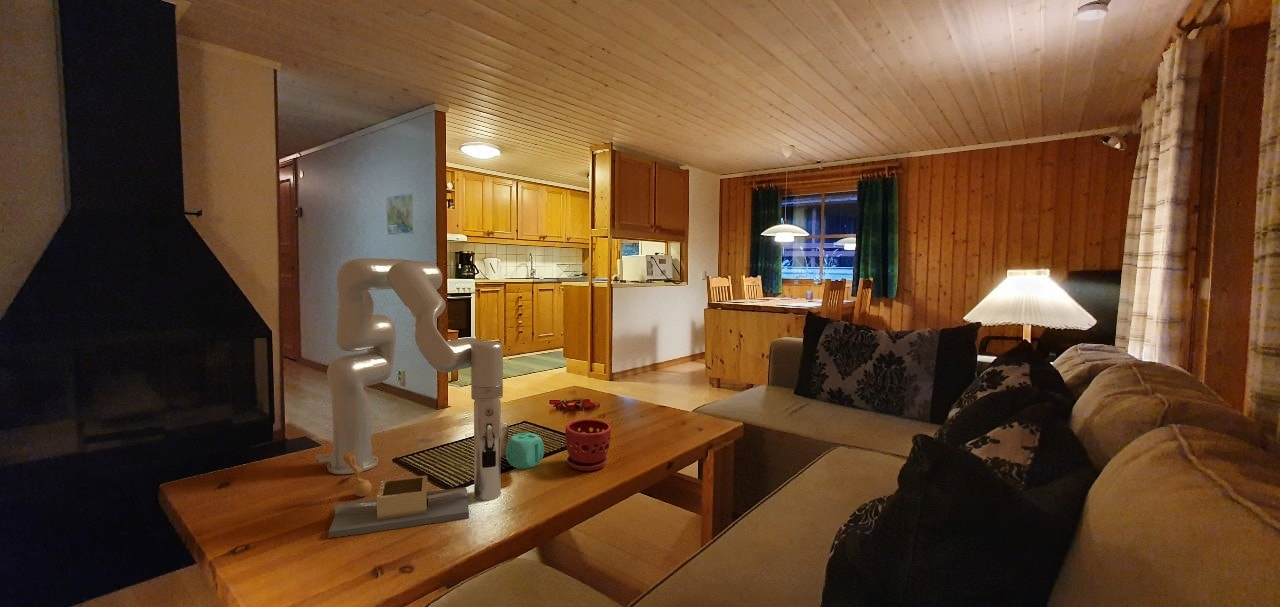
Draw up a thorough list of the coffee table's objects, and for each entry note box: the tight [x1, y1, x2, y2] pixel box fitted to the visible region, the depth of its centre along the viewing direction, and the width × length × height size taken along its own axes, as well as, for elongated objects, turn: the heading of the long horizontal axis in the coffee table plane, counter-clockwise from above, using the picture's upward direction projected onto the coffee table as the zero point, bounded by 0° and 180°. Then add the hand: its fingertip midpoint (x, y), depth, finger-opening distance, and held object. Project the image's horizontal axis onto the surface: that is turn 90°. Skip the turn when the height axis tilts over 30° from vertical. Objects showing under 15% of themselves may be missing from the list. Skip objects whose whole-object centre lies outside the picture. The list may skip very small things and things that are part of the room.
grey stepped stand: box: [334, 475, 468, 521], centre depth 122 cm, size 28×10×5 cm, turn 111°
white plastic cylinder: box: [473, 398, 502, 502], centre depth 132 cm, size 6×6×25 cm
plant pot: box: [564, 418, 612, 472], centre depth 153 cm, size 13×13×12 cm
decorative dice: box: [505, 432, 545, 470], centre depth 153 cm, size 8×8×8 cm
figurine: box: [343, 450, 373, 498], centre depth 130 cm, size 8×6×12 cm
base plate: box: [328, 486, 470, 539], centre depth 122 cm, size 28×14×2 cm, turn 111°
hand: (487, 460), depth 132 cm, fingers open, 7 cm apart
